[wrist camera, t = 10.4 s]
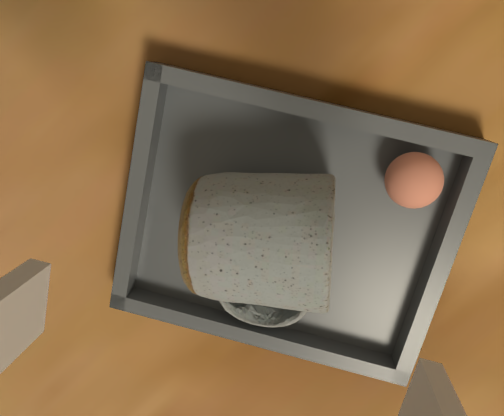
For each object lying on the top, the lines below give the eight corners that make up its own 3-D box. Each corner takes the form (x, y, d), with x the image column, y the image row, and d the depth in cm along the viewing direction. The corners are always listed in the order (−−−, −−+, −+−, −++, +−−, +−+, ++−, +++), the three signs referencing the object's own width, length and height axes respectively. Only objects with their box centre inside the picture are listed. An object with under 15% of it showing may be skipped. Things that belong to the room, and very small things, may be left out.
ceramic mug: (202, 160, 29) (165, 191, 22) (335, 161, 28) (342, 194, 21) (209, 312, 32) (178, 383, 25) (329, 318, 31) (334, 394, 24)
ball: (392, 195, 29) (367, 198, 27) (408, 145, 28) (384, 144, 26) (441, 214, 27) (419, 219, 25) (460, 161, 26) (439, 161, 24)
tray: (122, 292, 33) (109, 307, 31) (158, 62, 29) (145, 61, 27) (400, 366, 32) (406, 386, 30) (484, 138, 28) (498, 144, 26)
